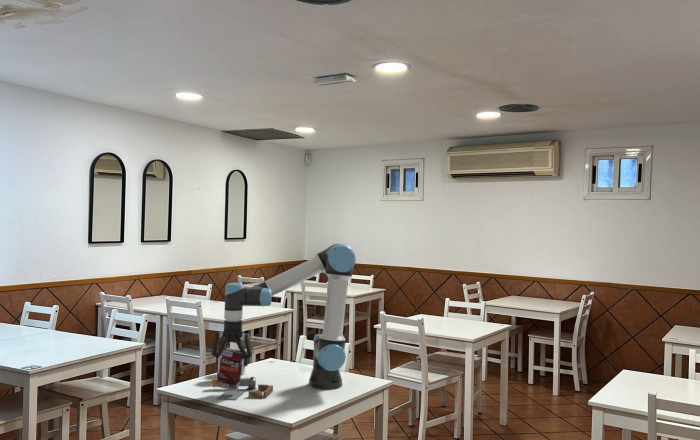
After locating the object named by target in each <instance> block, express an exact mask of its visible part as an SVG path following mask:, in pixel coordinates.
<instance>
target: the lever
mask: <svg viewBox="0 0 700 440" xmlns="http://www.w3.org/2000/svg"><path fill="white" fill-rule="evenodd" d="M217 381H218V377H212V379H211V382H212V383H211V387H212V388H217V387H216V386H217ZM256 383H257V379H256V377H254V376H251V377H247V378H245V377H244V378H240V383H239V387H247V388H248V389H255V388H257V387H256Z"/></svg>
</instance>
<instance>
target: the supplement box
mask: <svg viewBox="0 0 700 440" xmlns="http://www.w3.org/2000/svg"><path fill="white" fill-rule="evenodd" d="M221 356H222V359H221V364H220V370H219V375H218V377H217V378H218V381H217V386H216V387H215V388H222V389H226V390H229V391H238V389H239V388H240V386H239V383H240V378H241V377H242V375H241V372H242V359H243V358H244V357H243V353H241V351H239V350H235V349H230V347H225V348H224V350H223V352H222V354H221Z"/></svg>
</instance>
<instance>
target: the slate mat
mask: <svg viewBox="0 0 700 440" xmlns="http://www.w3.org/2000/svg"><path fill="white" fill-rule="evenodd" d="M243 394H245V391H243V390H236V391H234V390H229V389H226V390H225V391H224V392H223V393H221V394H220V395H218V397H217V398H216V399H217V400H222V399H223V400H225V401H227V400H228V401H237V400H238V399H239V398H240V397H241V396H242V395H243Z"/></svg>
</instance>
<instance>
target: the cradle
mask: <svg viewBox="0 0 700 440" xmlns="http://www.w3.org/2000/svg"><path fill="white" fill-rule="evenodd" d="M246 390H247V391H248V398H250V399H252V398H253V399H267V398H268V397H269V396H270V395H271V394H272V393H273V392H274V385H273V384H272V385H271V384H261V383H260V384H257V387H256V388H255V389H248V387H247V388H246Z"/></svg>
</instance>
